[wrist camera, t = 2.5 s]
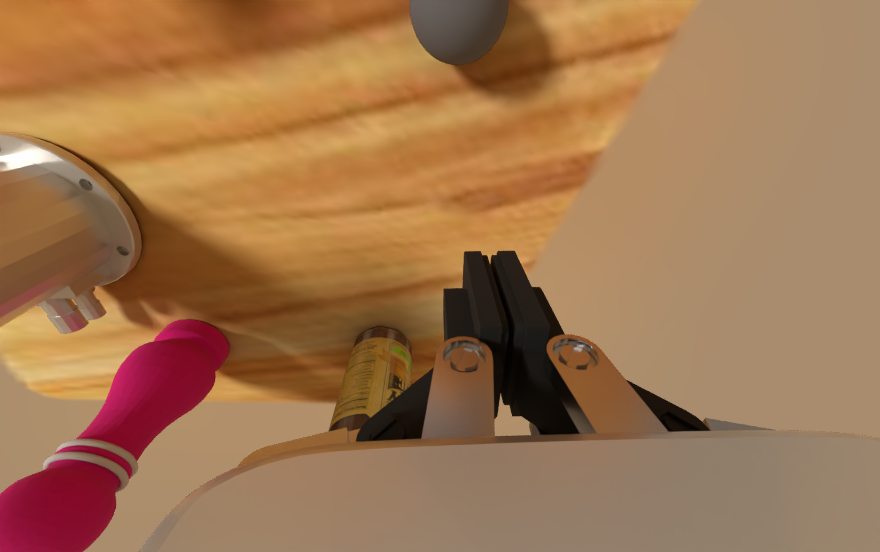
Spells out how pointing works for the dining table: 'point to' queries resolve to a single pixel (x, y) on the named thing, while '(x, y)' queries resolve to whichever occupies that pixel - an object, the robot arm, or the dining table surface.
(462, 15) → the dark gray ball
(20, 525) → the pepper mill
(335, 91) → the dining table surface
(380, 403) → the sauce bottle
